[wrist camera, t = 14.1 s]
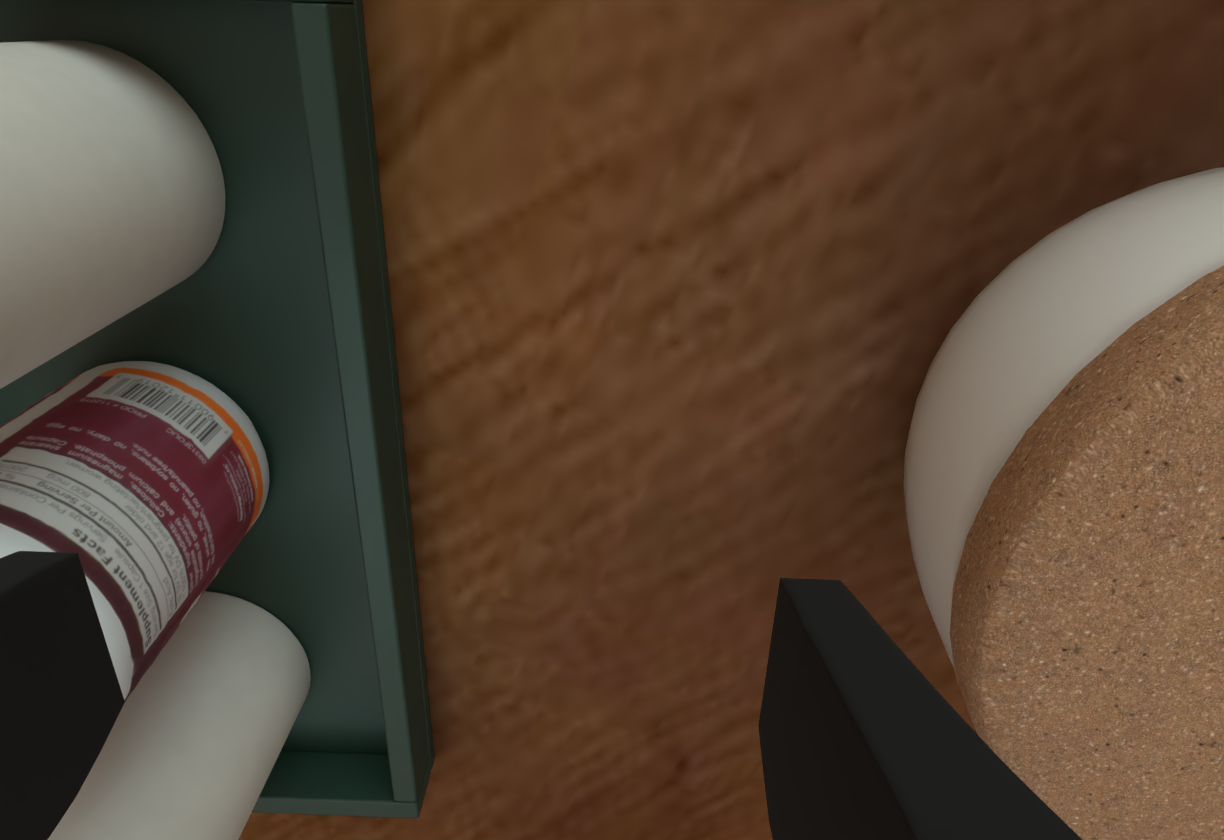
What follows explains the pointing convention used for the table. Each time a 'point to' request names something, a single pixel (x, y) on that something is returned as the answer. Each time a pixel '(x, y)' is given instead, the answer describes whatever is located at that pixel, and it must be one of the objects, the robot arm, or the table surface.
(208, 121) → the tray
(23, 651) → the robot arm
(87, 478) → the pill bottle
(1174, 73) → the table surface
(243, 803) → the pale bottle far
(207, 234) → the pale bottle near
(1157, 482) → the trinket box
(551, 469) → the table surface
